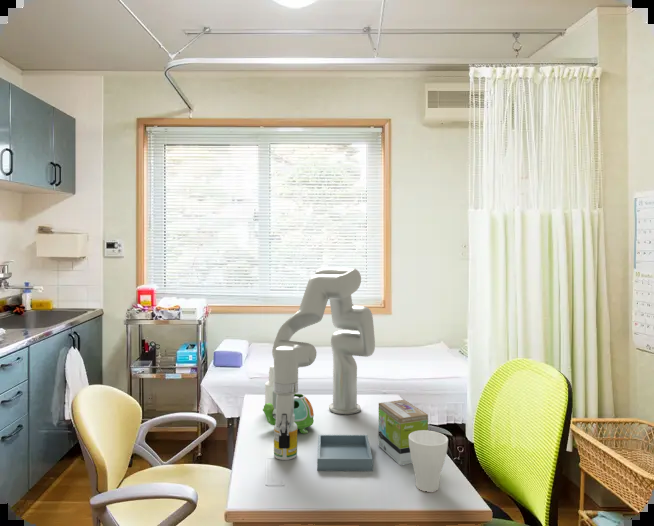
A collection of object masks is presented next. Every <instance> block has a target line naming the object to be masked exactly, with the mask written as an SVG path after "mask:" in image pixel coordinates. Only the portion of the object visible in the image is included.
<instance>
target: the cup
mask: <svg viewBox="0 0 654 526" xmlns="http://www.w3.org/2000/svg"><path fill="white" fill-rule="evenodd" d="M448 445H449V438H448V437H447V435H444V434H443V433H441V432H438V431H434V430H429V429H428V430H420V431H415V432H412V433H410V434H409V448H410V453H411V459H412V467H413V470H414V475H415V487H416V489H418V490H419V489H420V491H421V490H422V491H421V492H425V491H427V492H426V493H434V492H436V490H437V491H438V490H439V488H440V481H441V475H442V471H443V468H444V464H445V461H446V457H447V453H448ZM433 491H434V492H433Z"/></svg>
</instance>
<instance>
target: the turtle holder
mask: <svg viewBox="0 0 654 526" xmlns="http://www.w3.org/2000/svg"><path fill="white" fill-rule="evenodd" d="M273 410H274V407H273V405H272V404H271V403H268V404H265V403H264V405H263V408H262V411H263V413H264V414H265V418H266V422H267V423H268V424H269V425H271V426H275V424H276V417H275V416H274V414H273ZM294 414H295V420H294V422H295V423H296V424H297V430H299V433H301V434H308V433H309V431H308V429H307V428H308V427H311V426H312V425H314V420H315V419H314V416H315V414H314V408H313V405H312V403H311V401H310V400H309V399H308V398H307V397H306V394H304V393H295V394H294Z"/></svg>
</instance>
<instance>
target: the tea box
mask: <svg viewBox="0 0 654 526" xmlns="http://www.w3.org/2000/svg"><path fill="white" fill-rule="evenodd" d="M420 430H428V431H429V414H428V413H426V412H425V411H423V410H422V409H419V408H418V407H417V406H415V405H414V404H412V403H410V402H409V401H407V400H406V399H399V400H391V401H384V402H378V447H380V448H381V449H382V450H383V451H384V452H385V453H386V454H387V455H389V457H391V459H393V460H394V461H395V463H397V464H398V466H404V465H403V464H406V465H409V463H412V459H411V453H410V448H409V434H410V433H412V432H415V431H420ZM412 464H413V463H412Z"/></svg>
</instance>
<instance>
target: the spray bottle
mask: <svg viewBox="0 0 654 526" xmlns="http://www.w3.org/2000/svg"><path fill="white" fill-rule="evenodd" d="M276 398H277V394H276V393H274V364H272V365H270V366H269V371H268V381H266V382H265V383H264V405H265V404H268V403H271V404H272V405H273V407H274V410H273V415H276Z"/></svg>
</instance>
